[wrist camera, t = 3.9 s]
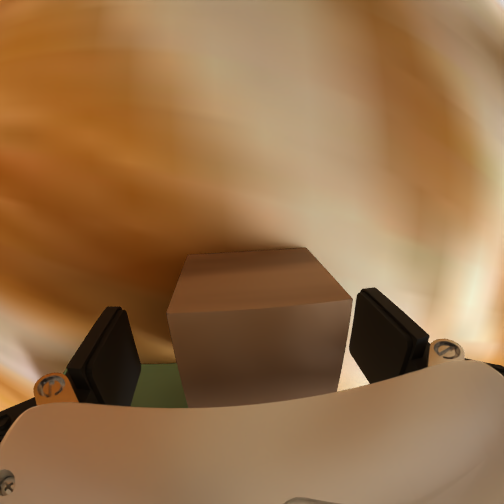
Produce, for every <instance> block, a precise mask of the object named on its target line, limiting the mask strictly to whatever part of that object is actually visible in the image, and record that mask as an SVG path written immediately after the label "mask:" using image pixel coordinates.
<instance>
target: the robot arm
mask: <svg viewBox="0 0 504 504" xmlns="http://www.w3.org/2000/svg"><path fill="white" fill-rule="evenodd" d="M428 339H429V335H428V334H427V333H426V332H425V331H424V330H423V329H422V328H421V327H420V326H418V325H417V324H416V323H415V322H414V321H413V320H412V319H411V318H410V317H408V316H407V315H406V314H405V313H404V312H403V311H402V310H401V309H400V308H398V307H397V306H396V305H395V304H394V303H393V302H392V301H390V300H389V299H388V298H387V297H386V296H385V295H383V294H382V293H381V292H380V291H379V290H378V289H377V288H375V287H374V288H366V289H362V290H361V292H360V293H358V294H357V299H356V306H355V313H354V320H353V326H352V333H351V339H350V344H349V350H350V353H351V355H352V357H353V358H354V360H355V361H356V363H357V364H358V366H359V367H360V369H361V371H362V372H363V374H364V375H365V377H366V378H367V380H368V381H369V383H370V384H368V385H364V386H360V387H356V388H352V389H347V390H343V391H338V392H333V393H328V394H323V395H318V396H312V397H307V398H301V399H294V400H287V401H280V402H272V403H264V404H254V405H244V406H230V407H212V408H148V407H131V403H132V399H133V396H134V392H135V389H136V386H137V383H138V379H139V376H140V373H141V363H140V359H139V356H138V353H137V349H136V346H135V342H134V339H133V335H132V331H131V328H130V324H129V320H128V316H127V312H126V311H125V310H122V308H121V307H106V308H105V310H104V311H103V313H102V314H101V316H100V317H99V318H98V320H97V321H96V323H95V324H94V326H93V327H92V329H91V330H90V332H89V333H88V335H87V336H86V338H85V339H84V341H83V342H82V344H81V345H80V347H79V348H78V350H77V351H76V353H75V355H74V356H73V358H72V359H71V361H70V362H69V364H68V366H67V367H66V368H67V372H66V374H65V375H64V374H61V373H50V374H47V375H45V376H43V377H41V378H40V379H39V380H38V381H37V382H36V383H35V386H34V396H35V397H34V398H31V399H29V400H27V401H25V402H22V403H20V404H17V405H15V406H13V407H10V408H8V409H6V410H3V411H1V412H0V504H504V367H503V366H501V365H495V364H490V363H485V362H481V361H475V360H471V359H466V358H465V357H464V350H463V348H462V347H461V346H460V345H459V344H458V343H456V342H454V341H452V340H448V339H437V340H435V341H433V342H432V343H431V344H430V343H429V342H428Z"/></svg>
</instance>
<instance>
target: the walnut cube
mask: <svg viewBox="0 0 504 504" xmlns="http://www.w3.org/2000/svg"><path fill="white" fill-rule="evenodd" d="M352 301H353V299H352V298H351V296H350V295H349V294H348V293H347V292H346V291H345V290H344V289H343V288H342V286H341V285H340V284H339V283H338V282H337V281H336V280H335V279H334V278H333V276H332V275H331V274H330V273H329V272H328V271H327V270H326V269H325V268H324V267H323V266H322V264H321V263H320V262H319V261H318V260H317V259H316V258H315V257H314V256H313V255H312V254H311V253H310V252H309V250H308V249H307V248H293V249H276V250H258V251H241V252H224V253H207V254H190V255H188V256H187V258H186V261H185V264H184V266H183V269H182V272H181V274H180V277H179V279H178V282H177V285H176V288H175V290H174V293H173V296H172V299H171V301H170V304H169V307H168V310H167V313H166V315H167V320H168V325H169V330H170V335H171V339H172V344H173V349H174V353H175V358H176V362H177V366H178V370H179V374H180V378H181V382H182V386H183V390H184V394H185V398H186V401H187V405H188V408H212V407H230V406H244V405H254V404H264V403H272V402H280V401H287V400H294V399H301V398H307V397H312V396H318V395H323V394H328V393H333V392H337V388H338V383H339V378H340V374H341V369H342V363H343V358H344V353H345V347H346V341H347V335H348V329H349V323H350V316H351V309H352Z"/></svg>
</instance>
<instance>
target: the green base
mask: <svg viewBox="0 0 504 504" xmlns="http://www.w3.org/2000/svg"><path fill="white" fill-rule="evenodd" d="M66 372H67V368H66V370H65V372H64V373H63V374H64V375H65V374H66ZM131 407H148V408H188V405H187V401H186V398H185V394H184V390H183V386H182V382H181V378H180V374H179V370H178V366H177V363H170V364H141V373H140V376H139V379H138V383H137V386H136V389H135V392H134V396H133V399H132V403H131Z"/></svg>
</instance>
